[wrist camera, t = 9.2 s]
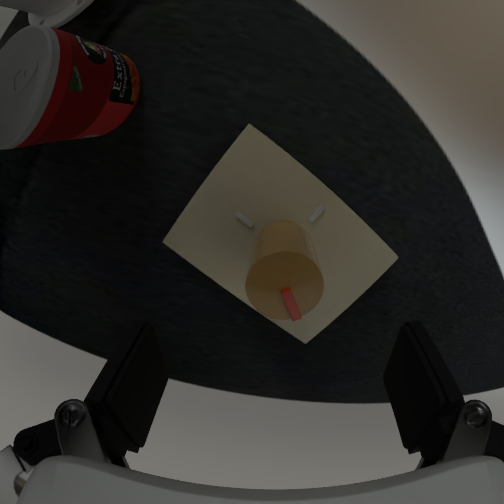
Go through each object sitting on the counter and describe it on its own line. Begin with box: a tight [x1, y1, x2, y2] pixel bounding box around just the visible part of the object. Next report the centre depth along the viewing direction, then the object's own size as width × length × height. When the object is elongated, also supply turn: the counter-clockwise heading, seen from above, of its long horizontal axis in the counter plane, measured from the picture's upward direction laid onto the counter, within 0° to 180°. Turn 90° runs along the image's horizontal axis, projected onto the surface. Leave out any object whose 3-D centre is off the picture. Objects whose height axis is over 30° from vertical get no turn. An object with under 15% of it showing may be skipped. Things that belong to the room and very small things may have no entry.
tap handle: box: [245, 221, 324, 321], centre depth 18 cm, size 4×4×6 cm
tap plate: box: [163, 124, 399, 344], centre depth 21 cm, size 15×11×2 cm
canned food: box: [0, 25, 141, 149], centre depth 13 cm, size 8×8×11 cm
